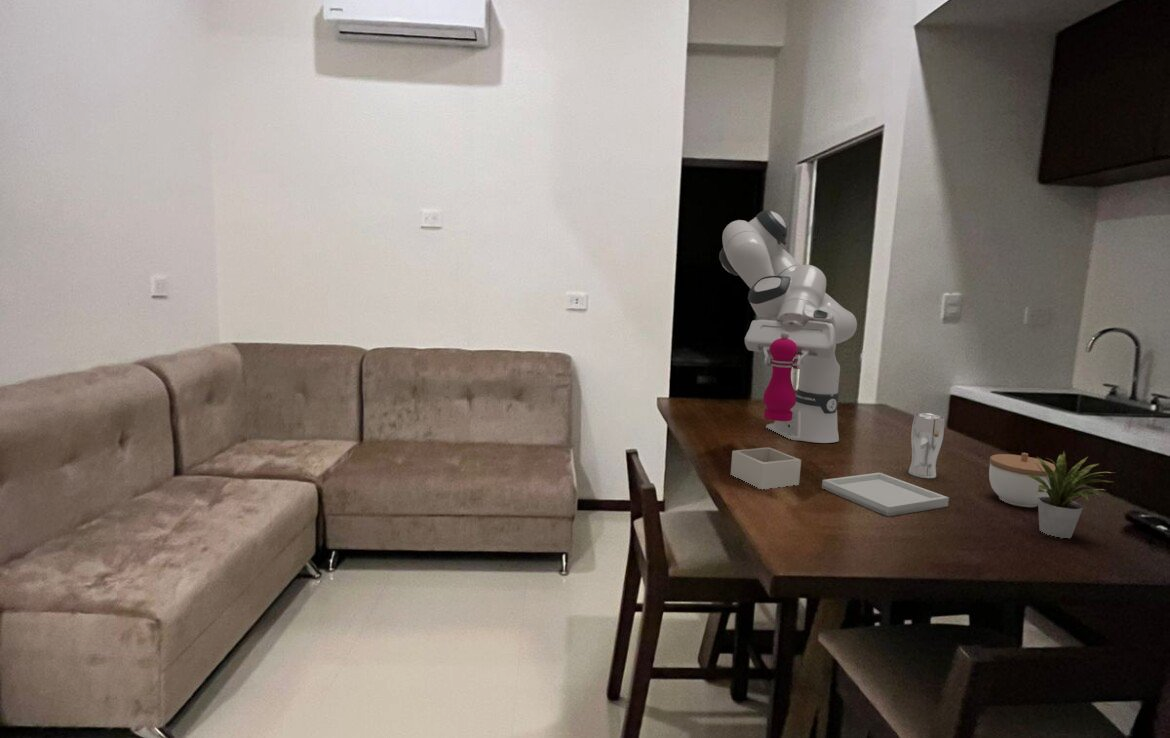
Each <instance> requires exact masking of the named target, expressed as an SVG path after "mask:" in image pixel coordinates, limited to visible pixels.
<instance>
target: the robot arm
mask: <svg viewBox="0 0 1170 738" xmlns="http://www.w3.org/2000/svg"><path fill="white" fill-rule="evenodd" d="M787 237H788V228H787V226H786V223H785V220H784V219H783V217H782V216H781V215H780V214H779V213H777V212H775V211H773V210H770V209H764V210H762V211H760V212H759V213H757V214H756V215H755V216H754V217H753V219H751V220H749V221H748V220H747V221H746V220H743V219H742V220H741V219H737V220H734V221H731V222H730V223H729V224H727V225H726V227H725V228H724V229H723V231H722V237H721V239H722V240H721V241H722V248H721V250H720V251H719V257H718V260H719V261H720V264H721V265H722V267H723V268H724V270H725V271H727V272H728V273H730V274H732V275H733V276H739V277H740V278H741V279H742V280H743V282H744V283H745V284H746V285H747V287H749V291H748V296H747V300H748V302H749V304H750V306H751V308H752V310H753V311H754V313H755V314H756V316H757V318H756V319H754V320H752V321H751V323H750V326H749V329H748V331H747V332H746V333H745V334H746V335H745V337H744V345H745V347H746V349H747V350H748V351H751V352H758V353H759V352H762V353H764V360H763V363H764V366H766V367H767V366H768V367H773V366H772V365H771V362H772V361H771V360H772V359H773V357H772V355H771V354H770V346H771V344H772V343H773V341H775V340H777V339H781V333H782V332H787V333H788V334H789V337H788V338H787V339H790V340H792V341H794V342H795V343H796V345H797V349H798V350H797V355H796V356H799V357H798V358H793V361H794V362H793V367H792V369H794V370H799V379H798V388H797V389H794V391H795V395H796V404H795V405H794V406H793V407H792V408H791V410H790V411H792V412H793V415H792V420H791V421H774V420H773V423H772V422H771V423H769V424H768V423H767V424H765V425H766V426H765V428H766V429H767V428H768V429H767V430H769V429H770V430H769V431H771V430H772V431H771V432H773V431H774V433H775V432H776V433H775V434H777V433H778V434H777V435H779V434H780V435H779V436H781V435H782V436H781V437H783V436H784V438H785V437H786V439H787V438H788V440H790V439H791V441H801V442H806V443H818V444H830V443H831V444H832V443H836V442H840V437H839V429H838V410H837V409H838V406H839V400H840V393H839V383H840V375H841V366H840V363H839V362H838V361H837V357H836V347H837V344H841V343H843V342H846V341H848V340H849V339H851V338H852V337H853V336H854V335H855V333H856V331H857V329H858V328H857V327H858V321H857V318H856V316H855V315H854V313H852V312H851V311H849V310H847V309H846V308H844V307H843V306H842V305H841V304H840V303H838V302H837V301H836V300H835V299H834V298H833V297H831V296H830V295H829V294H828V293H826V291H827V290H826V289H827V278H826V275H825V273H824V272H823V271H822V270H821V269H819V268H818V267H817V266H814V265H812V264H802V265H801V264H800V263H799V262H798V261H797V260H796V259H795V257H793V256H792V255H791V254H790V253H789V252H788V251H787V250H786V249H785V248H783V247H782V246H781V244H782V245H783V246H786V245H787V241H786V239H787Z"/></svg>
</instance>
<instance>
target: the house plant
mask: <svg viewBox="0 0 1170 738" xmlns="http://www.w3.org/2000/svg"><path fill="white" fill-rule="evenodd" d="M1036 459H1039V461H1040V462H1041V463H1040V464H1042V466H1043V468H1044V469H1045V471H1046V473H1047V475H1048V478H1049V480H1048V478H1047V476H1046V475H1045V473H1044V472H1043V471H1042V470H1041V471H1042V472H1043V474H1044V475H1045V476H1046V478H1047V480H1048V482H1049V481H1050V482H1049V485H1050V484H1051V485H1050V487H1051V489H1050V488H1049V487H1048V485H1047V484H1046V483H1045V482H1044V481H1043V480H1042V479H1041V478H1039V477H1037V476H1035V475H1027V476H1028V477H1031V478H1033V479H1035V480H1037V481H1038V482H1040V483H1041V484H1042V485H1043V486H1042V485H1039V488H1038V492H1047V493H1048V495H1049V497H1048V496H1043V497H1039V498H1038V506H1037V509H1038V524H1039V525H1038V526H1039V532H1040V531H1041V532H1040V533H1042V532H1043V533H1042V534H1044V533H1045V534H1044V535H1046V534H1047V535H1046V536H1049V535H1051V536H1050V537H1052V536H1055V537H1054V538H1056V537H1060V538H1059V539H1063V538H1068V539H1071V538H1072V537H1073V535H1074V531H1075V530H1076V526H1077V523H1078V521H1079V519H1080V516H1081V513H1082V511H1083V508H1084V507H1083V505H1082V504H1080V503H1077V502H1075V500H1077V499H1079V498H1081V497H1084V498H1085V499H1086V501H1087V503H1088V504H1089V499H1090V497H1089V495H1098V496H1101V497H1103V494H1102V492H1101V491H1105V489H1104V488H1096V489H1095V488H1093V487H1089V486H1084V487H1083V486H1082V487H1079V486H1081V485H1084V484H1085V485H1086V484H1090V483H1091V484H1092V483H1113V481H1111V480H1105V479H1094V477H1095V478H1096V477H1104V475H1103V474H1115V472H1112V471H1111V472H1110V471H1099V472H1098V471H1097V472H1093V473H1092V472H1091V473H1090V471H1091V470H1092V468H1095V467H1096V466H1098V465H1099V463H1093V464H1090V465H1087V466H1086V467H1083V468H1081V467H1082V465H1083V464H1084V463H1085V462H1086V461H1087V459H1088V456H1087V457H1084V458H1083V459H1080V461H1079V462H1077V463H1075V465H1074V466H1072V467H1071V469H1070V470H1069V471H1068V472H1067V464H1068V463H1067V461H1066V452H1065V450H1063V452H1062V454H1059V455H1058V457H1057V459H1056V462H1055V461H1054V460H1053V459H1050V458H1048V457H1046V459H1047V460H1050V461H1051V462H1052V464H1054V465H1055V472H1054V473H1053V471H1052V469H1051V468H1050V467H1049V466H1048V465H1046V464H1045V462H1044V461H1045V460H1044V461H1043V459H1042V458H1041V457H1038V456H1036ZM1034 463H1035V462H1034ZM1035 464H1036V463H1035ZM1036 465H1037V464H1036ZM1037 466H1038V465H1037ZM1038 467H1039V466H1038ZM1039 468H1040V467H1039ZM1080 468H1081V470H1079V469H1080ZM1040 469H1041V468H1040ZM1102 473H1103V474H1102ZM1086 477H1087V478H1086ZM1084 478H1085V479H1084ZM1039 489H1040V490H1039ZM1041 489H1046V490H1047V491H1044V490H1041ZM1084 490H1085V491H1084ZM1038 492H1037V493H1038Z"/></svg>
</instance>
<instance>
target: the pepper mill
mask: <svg viewBox="0 0 1170 738" xmlns="http://www.w3.org/2000/svg"><path fill="white" fill-rule="evenodd" d="M788 337H789V334H788V333H787V332H782V333H781V339H777V340H775V341H773V343H772V344H771V346H770V354H771V355H770V356H772V360H771V361H772V362H771V365H772V366H771V367H772V372H771V377H770V381H769V382H768V385H767V386H766V388H765V391H764V393H763V397H762V402H763V403H764V405H765V407H766V408H764V409H763V411H764V413H763V417H764V419H766V420H769V421H773V422H774V421H791V420H792V415H793V412H792V411H790V410H791V408H792V407H793V406H794V405H795V404H796V395H795V391H794V390H795V389H794V385H793V381H792V369H793V362H794V359H795V358H796V356H798V355H797V350H798V349H797V345H796V343H795V342H794V341H792V340H790V339H787V338H788Z"/></svg>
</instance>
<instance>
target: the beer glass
mask: <svg viewBox="0 0 1170 738" xmlns="http://www.w3.org/2000/svg"><path fill="white" fill-rule="evenodd" d="M911 426H912V427H911V433H910V436H911V439H910V441H911V442H910V443H911V463H910V466H909V469H908V474H910V475H911V476H914V477H917V478H921V479H935V478H936V477H937V469H936V465H937V459H938V456H939V453H940V449H941V446H942V444H943V440H944V434H945V433H944V432H945V417H944V416H943V415H939V414H934V413H928V412H916V413H914V416H913V421H912V425H911Z"/></svg>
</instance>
